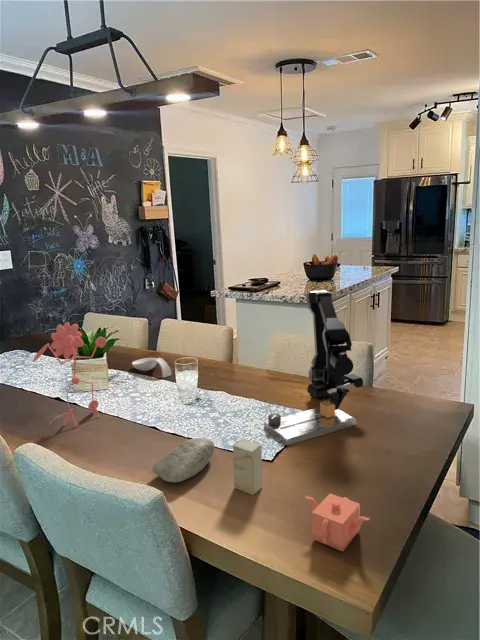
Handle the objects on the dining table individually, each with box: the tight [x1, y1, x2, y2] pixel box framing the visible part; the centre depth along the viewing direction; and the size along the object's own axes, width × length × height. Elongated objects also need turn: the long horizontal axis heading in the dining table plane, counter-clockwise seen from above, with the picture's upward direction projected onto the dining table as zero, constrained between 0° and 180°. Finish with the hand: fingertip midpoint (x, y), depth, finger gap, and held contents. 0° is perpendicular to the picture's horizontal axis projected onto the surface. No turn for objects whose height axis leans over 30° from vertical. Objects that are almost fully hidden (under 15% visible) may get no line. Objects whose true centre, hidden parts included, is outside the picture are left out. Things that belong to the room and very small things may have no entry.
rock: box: [151, 437, 216, 483], centre depth 132 cm, size 8×11×20 cm
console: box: [263, 406, 357, 446], centre depth 155 cm, size 26×14×2 cm, turn 116°
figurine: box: [32, 321, 115, 428], centre depth 167 cm, size 15×26×35 cm, turn 141°
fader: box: [319, 400, 335, 418], centre depth 157 cm, size 3×4×4 cm
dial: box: [267, 413, 282, 425], centre depth 154 cm, size 4×4×2 cm
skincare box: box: [232, 438, 263, 496], centre depth 122 cm, size 6×4×12 cm
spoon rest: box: [131, 357, 173, 378], centre depth 216 cm, size 24×12×7 cm, turn 44°
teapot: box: [304, 493, 370, 552], centre depth 103 cm, size 12×15×8 cm
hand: (335, 409), depth 159 cm, fingers closed
